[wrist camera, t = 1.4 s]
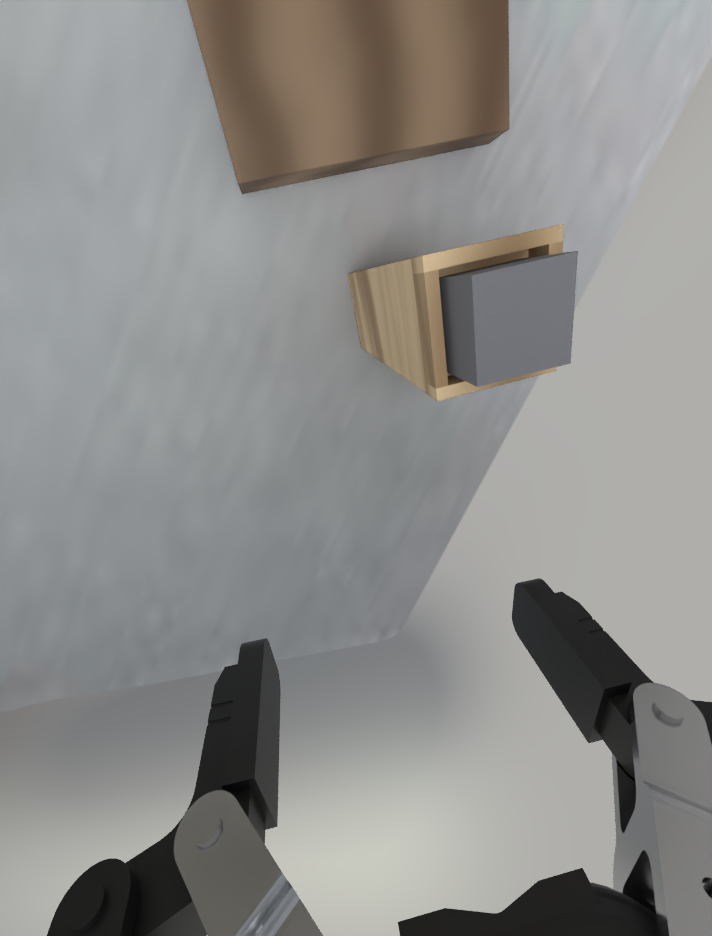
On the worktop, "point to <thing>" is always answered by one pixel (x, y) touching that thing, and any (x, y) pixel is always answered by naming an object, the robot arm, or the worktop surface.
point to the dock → (352, 82)
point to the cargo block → (509, 318)
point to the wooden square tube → (430, 307)
